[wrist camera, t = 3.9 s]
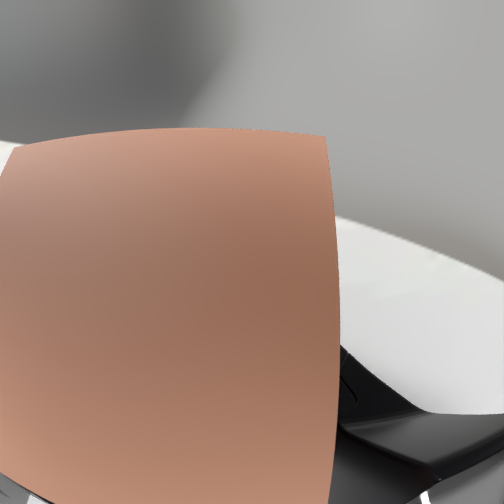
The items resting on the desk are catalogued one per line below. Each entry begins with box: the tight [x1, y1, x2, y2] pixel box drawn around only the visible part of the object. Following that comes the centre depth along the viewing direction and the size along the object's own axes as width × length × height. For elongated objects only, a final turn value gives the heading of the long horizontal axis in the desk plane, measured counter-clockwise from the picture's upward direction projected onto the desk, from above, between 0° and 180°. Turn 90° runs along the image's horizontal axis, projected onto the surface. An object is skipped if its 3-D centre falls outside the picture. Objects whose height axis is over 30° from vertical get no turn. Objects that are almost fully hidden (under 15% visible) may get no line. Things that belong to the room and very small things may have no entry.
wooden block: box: [0, 128, 340, 504], centre depth 9 cm, size 5×5×13 cm
